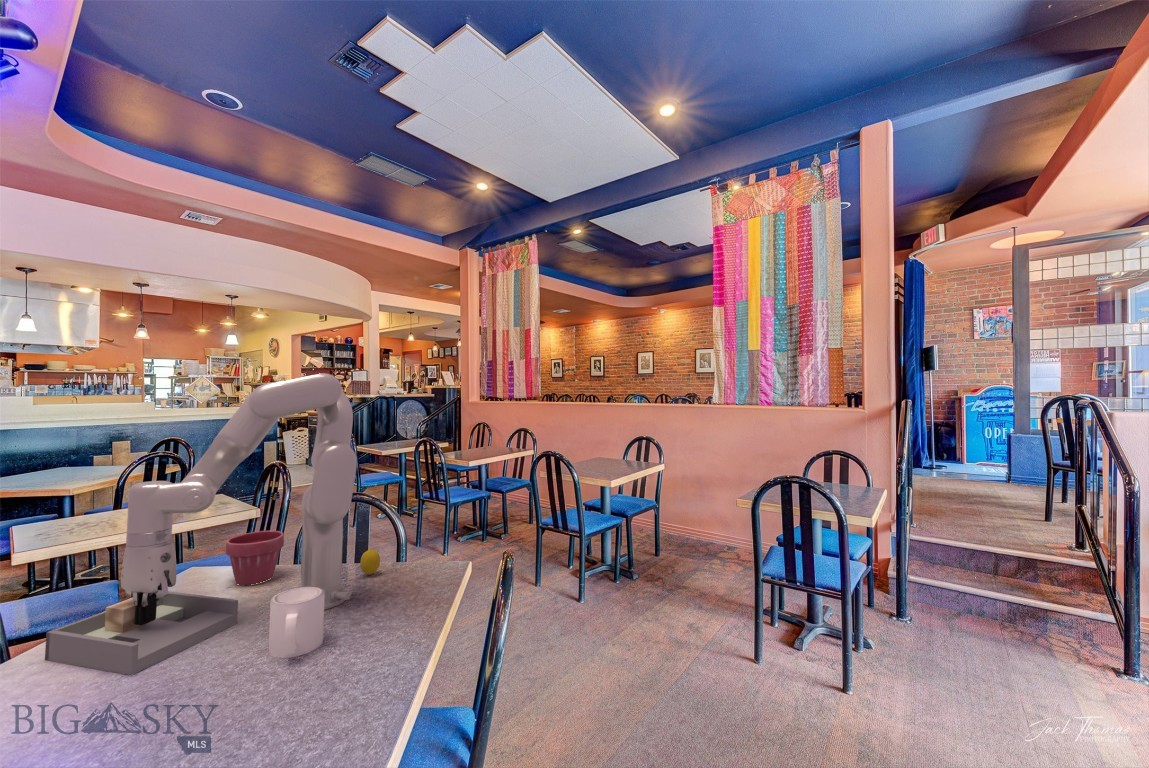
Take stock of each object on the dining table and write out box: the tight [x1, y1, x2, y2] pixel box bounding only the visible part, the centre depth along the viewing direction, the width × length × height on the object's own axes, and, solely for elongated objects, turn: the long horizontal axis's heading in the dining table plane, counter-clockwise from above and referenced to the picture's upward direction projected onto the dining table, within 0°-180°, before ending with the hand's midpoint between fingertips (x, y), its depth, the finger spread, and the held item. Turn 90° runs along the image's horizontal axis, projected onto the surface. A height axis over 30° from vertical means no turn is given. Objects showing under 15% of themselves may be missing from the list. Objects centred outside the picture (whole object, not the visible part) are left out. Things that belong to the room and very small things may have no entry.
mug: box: [268, 586, 325, 659], centre depth 100 cm, size 14×10×11 cm
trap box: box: [44, 590, 239, 676], centre depth 103 cm, size 23×22×6 cm
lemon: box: [359, 548, 381, 575], centre depth 143 cm, size 6×6×8 cm
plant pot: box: [225, 530, 285, 586], centre depth 139 cm, size 14×14×13 cm
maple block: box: [105, 597, 141, 633], centre depth 104 cm, size 5×5×5 cm
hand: (145, 622), depth 103 cm, fingers closed
